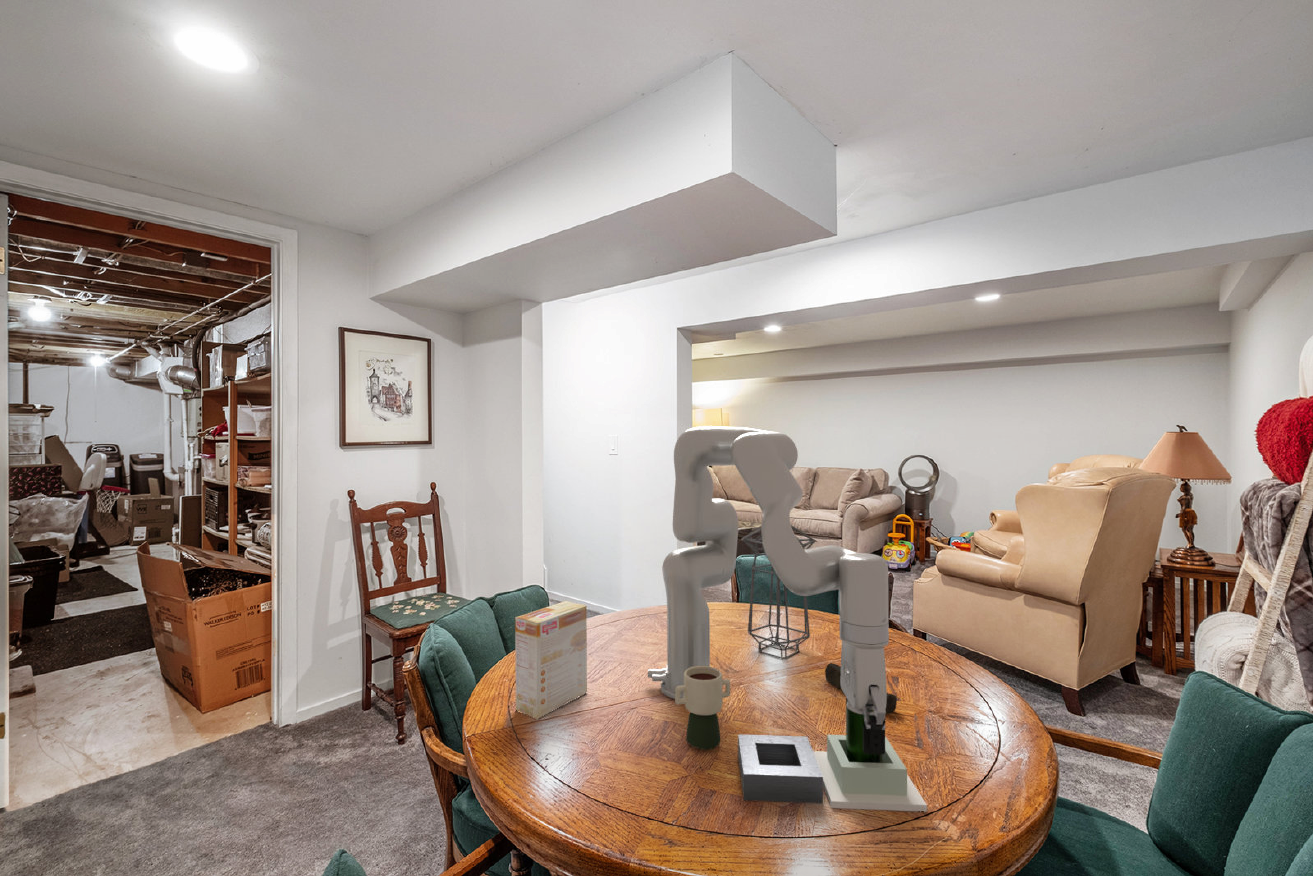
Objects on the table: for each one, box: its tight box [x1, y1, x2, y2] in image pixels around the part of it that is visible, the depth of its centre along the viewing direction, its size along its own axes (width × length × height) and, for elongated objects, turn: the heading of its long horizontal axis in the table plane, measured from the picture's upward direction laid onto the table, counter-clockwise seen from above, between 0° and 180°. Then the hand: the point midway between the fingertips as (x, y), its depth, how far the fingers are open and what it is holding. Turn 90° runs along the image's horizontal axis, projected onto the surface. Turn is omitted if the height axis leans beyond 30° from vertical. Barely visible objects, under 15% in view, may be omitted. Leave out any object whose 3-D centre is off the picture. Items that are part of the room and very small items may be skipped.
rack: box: [813, 734, 928, 813], centre depth 91 cm, size 14×14×5 cm
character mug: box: [674, 665, 731, 751], centre depth 103 cm, size 11×7×13 cm, turn 108°
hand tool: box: [824, 662, 898, 715], centre depth 123 cm, size 19×4×5 cm, turn 23°
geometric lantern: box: [741, 524, 818, 660], centre depth 150 cm, size 16×16×35 cm
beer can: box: [845, 701, 881, 763], centre depth 92 cm, size 5×5×12 cm
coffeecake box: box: [514, 600, 588, 720], centre depth 120 cm, size 15×7×20 cm, turn 145°
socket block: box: [737, 733, 824, 804], centre depth 92 cm, size 12×12×4 cm
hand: (864, 736), depth 91 cm, fingers open, 9 cm apart
